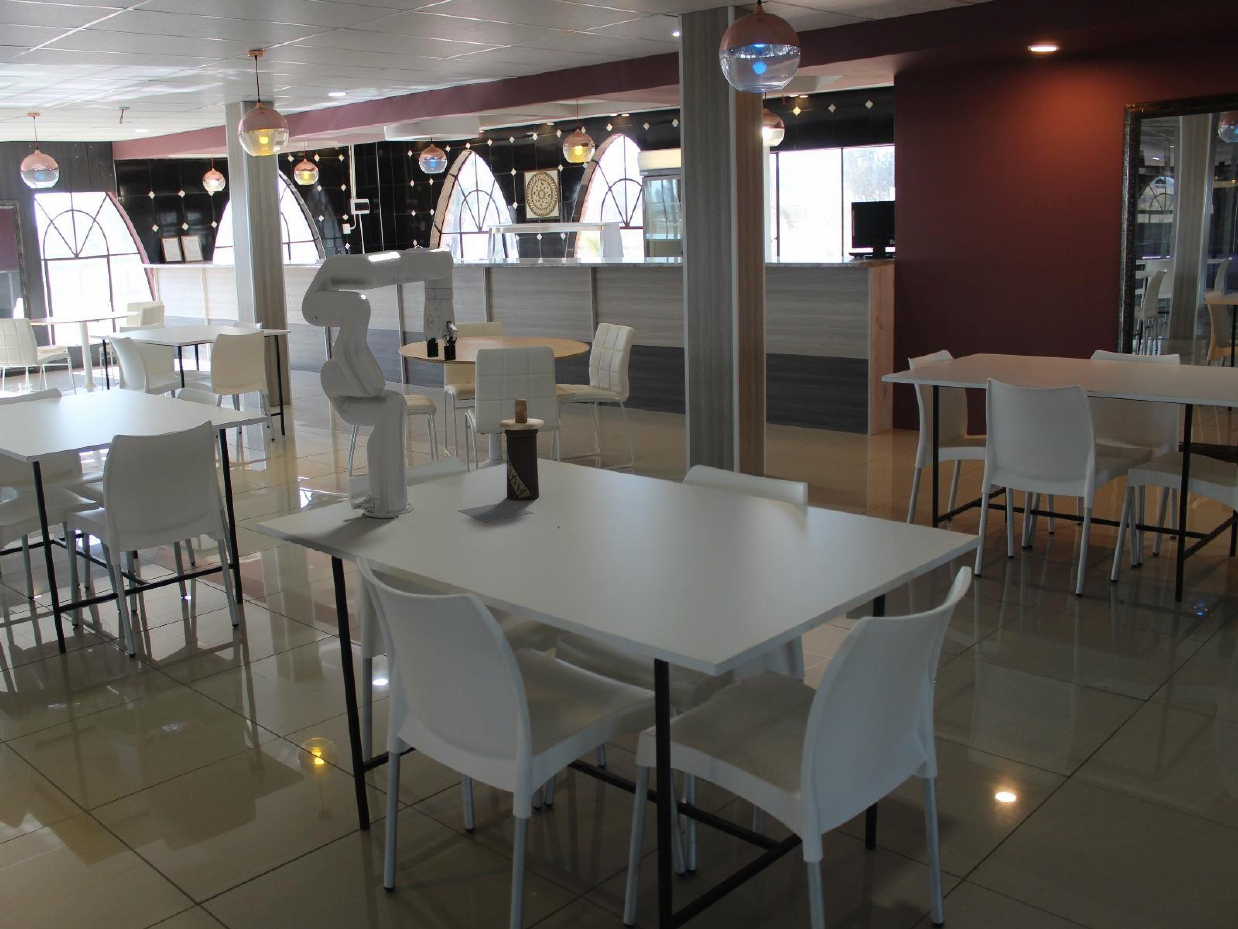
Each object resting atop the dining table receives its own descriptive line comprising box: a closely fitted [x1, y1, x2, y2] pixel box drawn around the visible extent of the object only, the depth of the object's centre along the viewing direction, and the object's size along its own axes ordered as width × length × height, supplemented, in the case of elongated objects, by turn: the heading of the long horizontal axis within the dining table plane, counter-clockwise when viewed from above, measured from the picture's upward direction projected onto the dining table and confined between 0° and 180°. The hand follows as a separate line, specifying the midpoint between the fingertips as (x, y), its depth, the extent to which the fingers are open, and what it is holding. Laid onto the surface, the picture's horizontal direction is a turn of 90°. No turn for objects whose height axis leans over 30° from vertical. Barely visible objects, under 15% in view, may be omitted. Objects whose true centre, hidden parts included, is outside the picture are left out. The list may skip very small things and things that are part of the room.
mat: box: [457, 501, 534, 523], centre depth 279 cm, size 14×14×1 cm
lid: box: [497, 398, 545, 430], centre depth 289 cm, size 12×12×7 cm
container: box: [504, 428, 540, 502], centre depth 292 cm, size 9×9×20 cm
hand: (441, 358), depth 299 cm, fingers open, 9 cm apart
